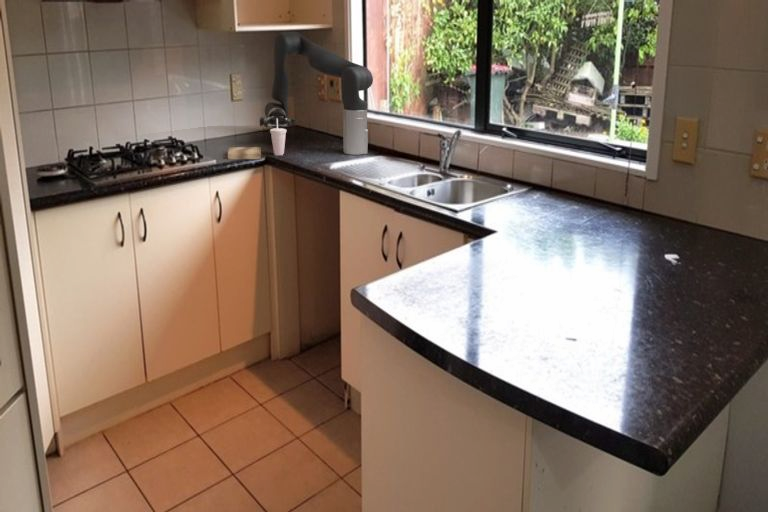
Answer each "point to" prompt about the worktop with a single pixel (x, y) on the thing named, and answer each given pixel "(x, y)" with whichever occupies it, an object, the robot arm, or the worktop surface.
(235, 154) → the board
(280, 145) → the smoothie
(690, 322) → the worktop surface
